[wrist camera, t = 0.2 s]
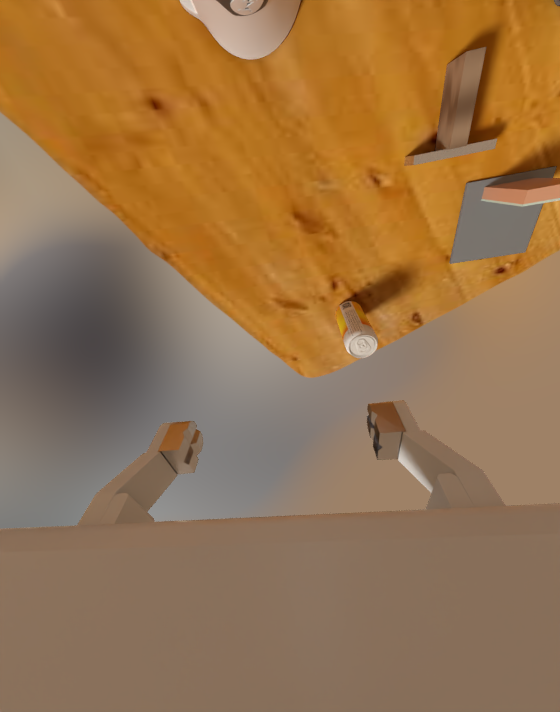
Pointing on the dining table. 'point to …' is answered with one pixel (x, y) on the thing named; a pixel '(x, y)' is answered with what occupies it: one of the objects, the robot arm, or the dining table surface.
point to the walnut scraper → (457, 110)
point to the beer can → (356, 330)
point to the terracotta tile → (524, 192)
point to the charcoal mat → (494, 221)
